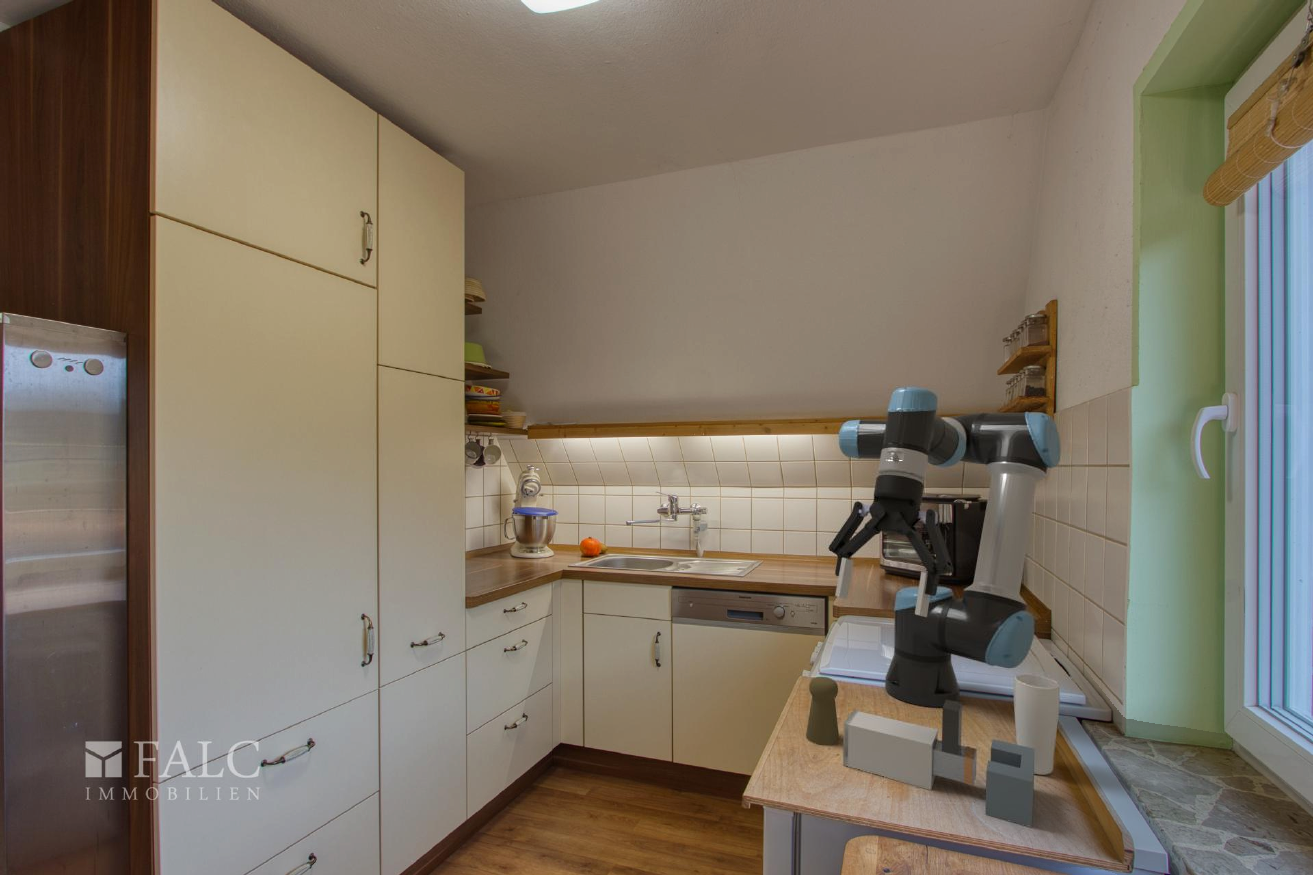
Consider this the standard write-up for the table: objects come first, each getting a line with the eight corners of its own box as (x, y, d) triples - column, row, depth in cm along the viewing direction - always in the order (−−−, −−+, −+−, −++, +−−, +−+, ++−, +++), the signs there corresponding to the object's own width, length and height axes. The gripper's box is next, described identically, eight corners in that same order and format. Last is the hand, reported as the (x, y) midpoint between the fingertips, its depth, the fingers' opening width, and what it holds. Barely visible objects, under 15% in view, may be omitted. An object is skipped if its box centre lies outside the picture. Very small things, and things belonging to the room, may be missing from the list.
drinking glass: (1062, 781, 107) (1064, 690, 107) (1015, 773, 110) (1017, 684, 110) (1053, 762, 114) (1054, 676, 114) (1009, 755, 116) (1011, 671, 116)
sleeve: (852, 750, 117) (853, 710, 117) (936, 772, 110) (937, 729, 110) (842, 765, 111) (843, 723, 111) (930, 789, 104) (931, 744, 104)
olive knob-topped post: (840, 747, 118) (841, 686, 118) (806, 743, 119) (807, 683, 119) (838, 732, 124) (839, 674, 124) (805, 728, 125) (806, 671, 125)
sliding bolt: (862, 744, 115) (863, 682, 115) (976, 773, 106) (977, 705, 106) (856, 754, 111) (858, 689, 111) (973, 785, 102) (975, 714, 102)
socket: (991, 778, 108) (992, 738, 108) (1033, 789, 105) (1034, 748, 105) (985, 814, 98) (986, 770, 98) (1031, 827, 95) (1032, 781, 95)
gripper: (823, 468, 116) (800, 587, 112) (970, 478, 98) (949, 621, 94) (844, 478, 121) (823, 593, 117) (987, 490, 103) (968, 626, 99)
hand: (879, 606), depth 105 cm, fingers open, 13 cm apart
